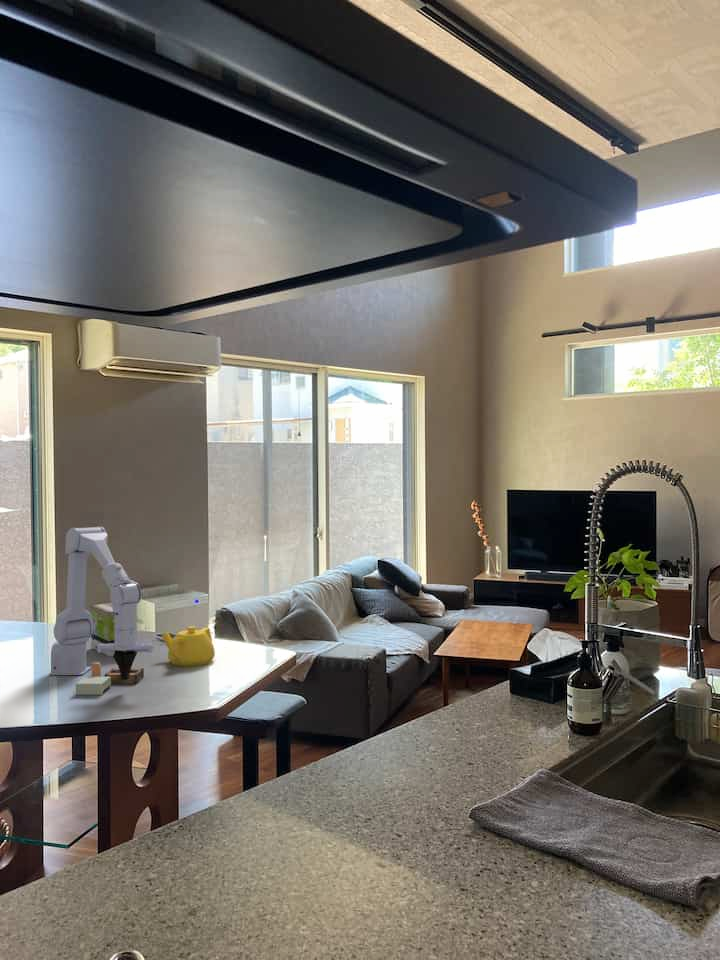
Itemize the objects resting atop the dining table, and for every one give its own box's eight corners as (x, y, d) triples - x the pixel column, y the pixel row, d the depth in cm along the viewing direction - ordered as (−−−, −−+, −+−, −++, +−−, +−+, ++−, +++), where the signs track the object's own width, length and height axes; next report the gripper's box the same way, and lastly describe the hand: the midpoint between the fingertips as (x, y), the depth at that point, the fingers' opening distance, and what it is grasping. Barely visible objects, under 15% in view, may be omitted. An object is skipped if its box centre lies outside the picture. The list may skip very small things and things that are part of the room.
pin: (90, 685, 208) (90, 664, 208) (93, 683, 211) (93, 661, 211) (98, 685, 208) (99, 664, 208) (101, 683, 211) (101, 661, 211)
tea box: (89, 648, 253) (89, 604, 253) (118, 644, 259) (118, 601, 259) (108, 657, 242) (108, 610, 241) (137, 652, 248) (138, 607, 248)
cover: (75, 694, 200) (75, 683, 200) (84, 687, 207) (85, 676, 207) (102, 694, 200) (102, 683, 200) (110, 687, 207) (110, 676, 207)
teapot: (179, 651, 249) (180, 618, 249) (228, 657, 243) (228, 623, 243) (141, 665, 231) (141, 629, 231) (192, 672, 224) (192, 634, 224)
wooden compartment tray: (104, 683, 211) (104, 674, 211) (112, 676, 218) (112, 668, 218) (136, 683, 211) (136, 674, 211) (143, 677, 218) (143, 668, 218)
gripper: (93, 631, 199) (93, 682, 199) (148, 631, 199) (148, 682, 199) (102, 626, 206) (102, 675, 206) (155, 626, 206) (155, 675, 206)
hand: (125, 678), depth 203 cm, fingers closed
